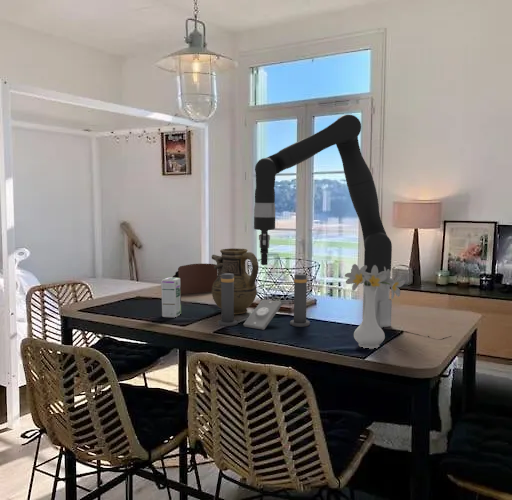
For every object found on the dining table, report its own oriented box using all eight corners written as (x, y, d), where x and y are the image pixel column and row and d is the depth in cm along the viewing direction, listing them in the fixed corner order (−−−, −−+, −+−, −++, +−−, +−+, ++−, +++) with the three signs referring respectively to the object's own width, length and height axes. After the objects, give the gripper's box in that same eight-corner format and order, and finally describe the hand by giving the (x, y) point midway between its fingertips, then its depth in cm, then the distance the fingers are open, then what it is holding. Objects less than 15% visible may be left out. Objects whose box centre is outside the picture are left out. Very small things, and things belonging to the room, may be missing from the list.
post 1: (241, 324, 191) (241, 274, 189) (224, 327, 187) (224, 276, 185) (230, 320, 197) (230, 272, 195) (214, 323, 192) (214, 273, 191)
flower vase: (395, 356, 153) (397, 270, 151) (335, 347, 162) (336, 265, 160) (407, 345, 164) (410, 265, 162) (350, 337, 174) (352, 261, 171)
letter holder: (218, 291, 257) (217, 262, 256) (178, 294, 249) (178, 264, 247) (210, 288, 266) (210, 260, 265) (172, 291, 258) (171, 262, 256)
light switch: (242, 322, 187) (261, 297, 197) (246, 334, 190) (265, 309, 200) (262, 325, 183) (281, 299, 192) (266, 338, 185) (285, 312, 195)
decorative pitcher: (269, 312, 211) (270, 249, 209) (243, 320, 197) (243, 253, 194) (226, 305, 224) (226, 246, 221) (198, 313, 209) (198, 249, 207)
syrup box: (176, 317, 201) (175, 279, 199) (161, 317, 202) (161, 279, 201) (181, 314, 206) (181, 277, 205) (167, 313, 208) (166, 276, 206)
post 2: (313, 325, 190) (314, 275, 189) (298, 327, 186) (299, 276, 185) (301, 321, 196) (301, 272, 194) (286, 323, 192) (286, 274, 190)
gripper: (275, 216, 181) (274, 267, 183) (275, 215, 194) (274, 262, 196) (253, 216, 181) (253, 267, 183) (254, 215, 194) (254, 262, 196)
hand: (264, 264), depth 189 cm, fingers closed
